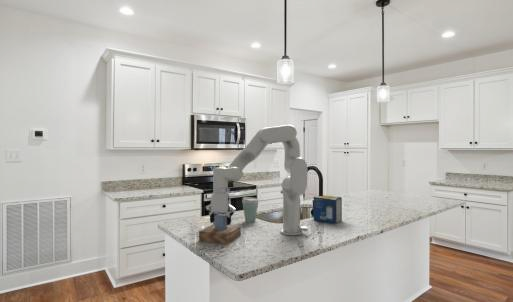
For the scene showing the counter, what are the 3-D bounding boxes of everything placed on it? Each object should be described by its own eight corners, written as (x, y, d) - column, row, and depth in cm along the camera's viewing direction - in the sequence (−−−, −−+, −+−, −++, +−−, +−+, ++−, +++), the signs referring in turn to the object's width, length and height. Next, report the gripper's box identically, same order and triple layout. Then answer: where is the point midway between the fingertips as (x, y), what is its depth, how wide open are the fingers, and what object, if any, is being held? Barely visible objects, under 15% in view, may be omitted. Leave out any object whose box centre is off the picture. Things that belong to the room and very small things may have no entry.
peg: (226, 237, 154) (226, 214, 154) (222, 239, 150) (222, 216, 150) (219, 236, 156) (219, 214, 156) (214, 238, 152) (214, 215, 152)
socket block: (240, 235, 158) (240, 226, 157) (227, 244, 143) (227, 234, 143) (214, 232, 163) (214, 223, 163) (199, 240, 148) (199, 231, 148)
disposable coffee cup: (259, 219, 193) (259, 196, 193) (257, 223, 182) (257, 199, 182) (243, 219, 194) (243, 196, 194) (240, 223, 183) (240, 199, 183)
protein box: (320, 217, 200) (320, 194, 199) (342, 221, 190) (342, 197, 190) (313, 220, 191) (313, 196, 191) (335, 224, 182) (335, 199, 182)
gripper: (238, 190, 153) (238, 223, 153) (209, 188, 159) (209, 220, 160) (232, 192, 146) (232, 226, 146) (202, 190, 152) (202, 223, 153)
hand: (220, 223), depth 153 cm, fingers open, 9 cm apart
